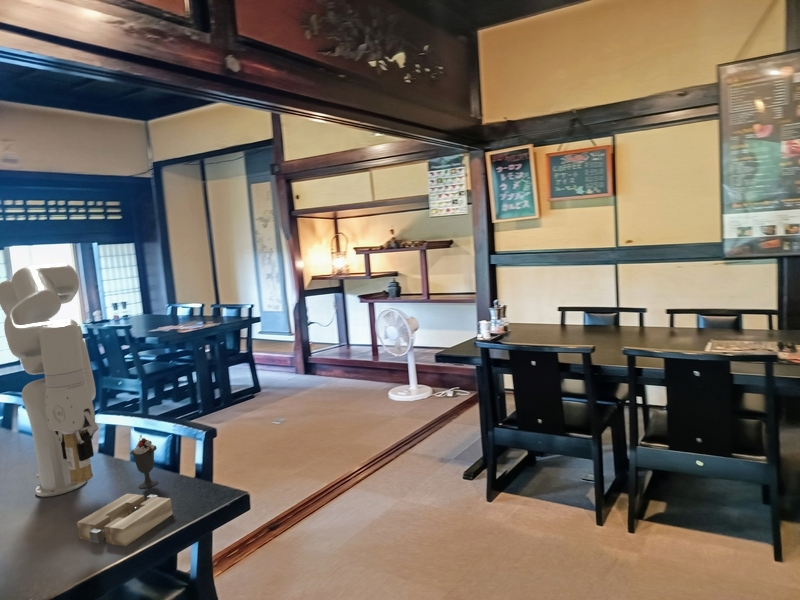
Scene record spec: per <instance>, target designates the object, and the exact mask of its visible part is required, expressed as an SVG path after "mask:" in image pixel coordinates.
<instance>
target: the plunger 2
mask: <svg viewBox="0 0 800 600" xmlns="http://www.w3.org/2000/svg"><path fill="white" fill-rule="evenodd" d="M151 497H159V495H157V494H149V495H147V496H146V500H148V499H149V498H151ZM140 508H141V506H140V507H134V508H133V509H132V513H133V512H135V511H137V510H138V509H140Z"/></svg>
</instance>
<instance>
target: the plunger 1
mask: <svg viewBox="0 0 800 600" xmlns="http://www.w3.org/2000/svg"><path fill="white" fill-rule="evenodd" d="M113 521H114V520H113ZM89 533H90V539H91V541H90V543H95V544H100V543H101V542H103V541H104V538H103V534H104V533H105V529H103V530H98V529H93V530H91V531H90V532H89Z"/></svg>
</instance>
